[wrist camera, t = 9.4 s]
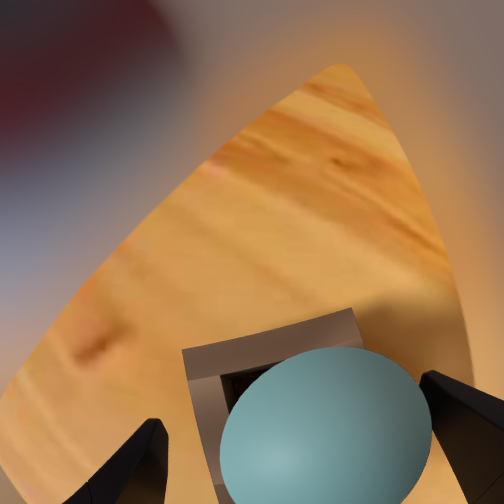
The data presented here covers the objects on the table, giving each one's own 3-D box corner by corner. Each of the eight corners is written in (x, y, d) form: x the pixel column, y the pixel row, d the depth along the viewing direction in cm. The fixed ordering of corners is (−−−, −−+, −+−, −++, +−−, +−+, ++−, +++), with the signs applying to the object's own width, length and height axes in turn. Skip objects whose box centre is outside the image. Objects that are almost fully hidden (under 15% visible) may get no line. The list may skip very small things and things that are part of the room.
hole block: (366, 448, 13) (396, 461, 10) (232, 485, 13) (221, 511, 9) (332, 328, 17) (351, 307, 13) (201, 361, 17) (181, 349, 13)
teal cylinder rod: (313, 440, 14) (415, 523, 3) (251, 437, 14) (210, 533, 3) (318, 383, 16) (433, 344, 4) (257, 379, 16) (232, 340, 5)
